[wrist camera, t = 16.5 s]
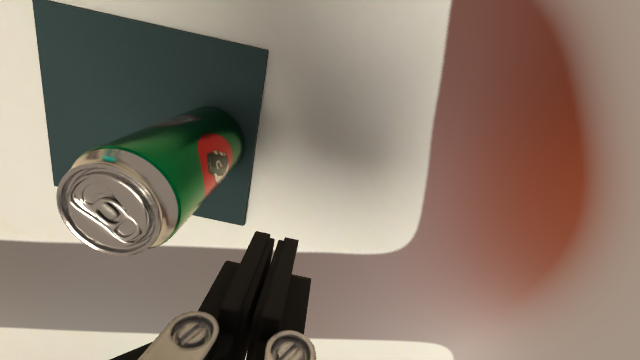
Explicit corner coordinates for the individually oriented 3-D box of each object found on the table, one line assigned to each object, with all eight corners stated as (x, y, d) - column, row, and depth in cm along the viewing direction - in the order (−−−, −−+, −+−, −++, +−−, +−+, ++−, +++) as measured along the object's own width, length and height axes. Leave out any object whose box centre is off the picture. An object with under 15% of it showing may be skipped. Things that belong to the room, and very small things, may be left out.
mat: (36, -3, 22) (31, -3, 21) (268, 50, 22) (267, 50, 22) (57, 184, 27) (53, 185, 27) (244, 223, 27) (243, 226, 27)
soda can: (214, 90, 23) (96, 127, 12) (261, 146, 24) (194, 226, 13) (167, 132, 24) (21, 199, 13) (213, 182, 26) (116, 282, 15)
